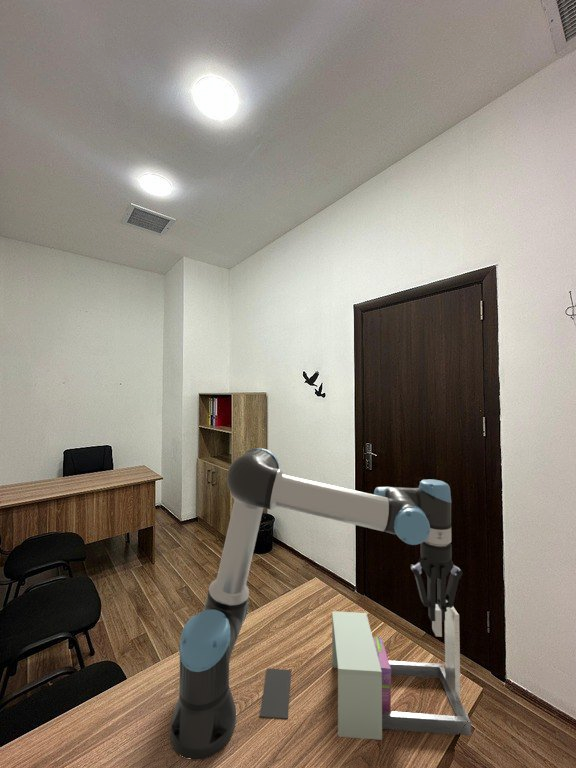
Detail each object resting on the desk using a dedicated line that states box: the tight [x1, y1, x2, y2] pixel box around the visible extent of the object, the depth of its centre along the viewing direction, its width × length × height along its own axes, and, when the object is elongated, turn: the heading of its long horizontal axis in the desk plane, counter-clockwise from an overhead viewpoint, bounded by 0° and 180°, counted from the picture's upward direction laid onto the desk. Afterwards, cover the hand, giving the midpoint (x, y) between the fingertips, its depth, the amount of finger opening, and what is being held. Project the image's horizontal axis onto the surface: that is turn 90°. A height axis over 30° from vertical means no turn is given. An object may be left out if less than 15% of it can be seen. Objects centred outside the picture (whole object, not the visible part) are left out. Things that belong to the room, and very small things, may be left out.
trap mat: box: [259, 667, 292, 720], centre depth 86 cm, size 7×14×1 cm, turn 176°
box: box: [372, 636, 392, 711], centre depth 85 cm, size 10×6×12 cm, turn 176°
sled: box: [382, 606, 472, 736], centre depth 84 cm, size 24×16×24 cm
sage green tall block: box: [331, 610, 383, 741], centre depth 85 cm, size 10×20×15 cm, turn 176°
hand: (436, 632), depth 84 cm, fingers closed
